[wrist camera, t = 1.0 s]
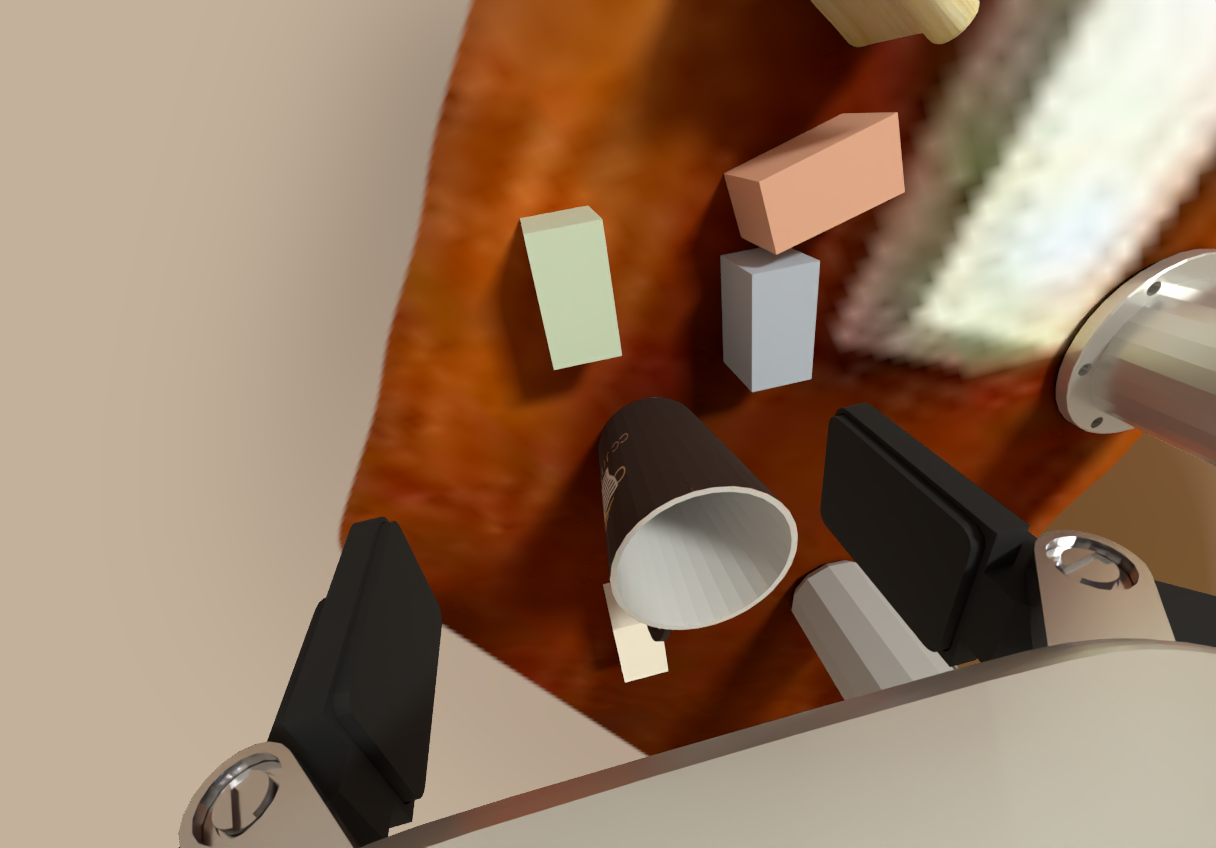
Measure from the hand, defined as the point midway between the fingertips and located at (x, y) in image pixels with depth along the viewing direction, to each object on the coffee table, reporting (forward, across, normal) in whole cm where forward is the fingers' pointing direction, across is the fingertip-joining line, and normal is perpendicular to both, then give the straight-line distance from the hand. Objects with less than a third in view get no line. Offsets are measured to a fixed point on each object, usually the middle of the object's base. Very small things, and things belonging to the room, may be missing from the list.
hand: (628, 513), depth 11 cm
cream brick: (+17, -1, +24) cm, 30 cm away
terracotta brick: (+17, -12, -3) cm, 21 cm away
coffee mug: (+17, -3, +12) cm, 21 cm away
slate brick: (+17, -10, +3) cm, 20 cm away
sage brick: (+17, -1, 0) cm, 17 cm away
